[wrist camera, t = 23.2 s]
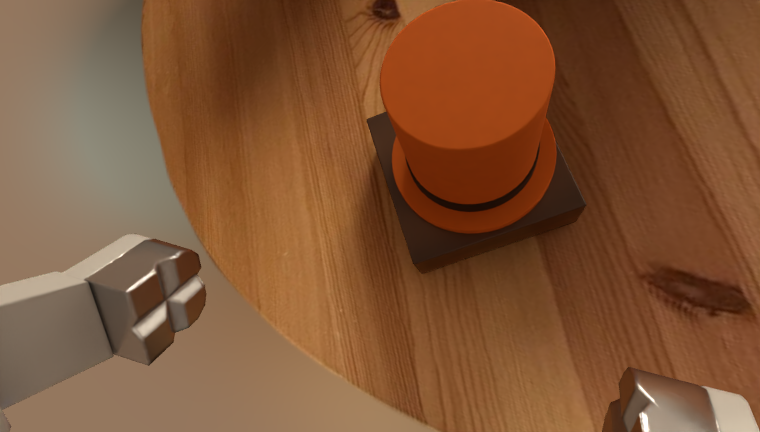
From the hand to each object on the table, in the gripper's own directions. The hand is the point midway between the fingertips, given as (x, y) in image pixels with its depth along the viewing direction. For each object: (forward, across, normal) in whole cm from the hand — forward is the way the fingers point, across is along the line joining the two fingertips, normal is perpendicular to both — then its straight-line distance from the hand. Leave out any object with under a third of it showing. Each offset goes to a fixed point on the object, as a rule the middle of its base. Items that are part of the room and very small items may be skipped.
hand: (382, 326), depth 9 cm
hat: (+17, +1, +3) cm, 17 cm away
